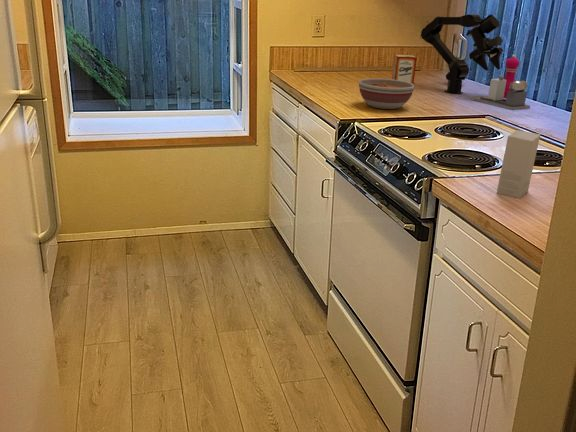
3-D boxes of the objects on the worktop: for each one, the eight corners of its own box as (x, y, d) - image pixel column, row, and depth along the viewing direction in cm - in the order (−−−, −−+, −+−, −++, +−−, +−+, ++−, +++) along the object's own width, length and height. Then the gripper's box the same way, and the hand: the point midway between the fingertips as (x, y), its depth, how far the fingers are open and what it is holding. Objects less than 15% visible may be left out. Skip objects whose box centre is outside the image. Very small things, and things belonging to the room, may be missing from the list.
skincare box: (505, 185, 167) (515, 129, 162) (530, 191, 164) (542, 133, 158) (495, 193, 161) (506, 134, 155) (521, 199, 157) (533, 139, 152)
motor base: (473, 100, 285) (477, 74, 281) (490, 98, 291) (495, 73, 287) (511, 110, 268) (516, 83, 264) (529, 108, 274) (534, 81, 270)
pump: (487, 98, 282) (491, 74, 278) (495, 98, 285) (500, 74, 281) (494, 100, 279) (499, 76, 275) (503, 99, 282) (507, 75, 278)
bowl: (377, 114, 246) (380, 88, 242) (346, 102, 264) (348, 79, 261) (422, 111, 256) (426, 86, 252) (389, 100, 275) (392, 77, 271)
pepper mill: (515, 99, 295) (523, 56, 287) (499, 97, 296) (507, 54, 288) (513, 96, 301) (521, 54, 294) (497, 95, 302) (505, 53, 295)
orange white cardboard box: (393, 89, 303) (397, 55, 297) (391, 86, 309) (394, 53, 303) (412, 90, 303) (416, 56, 298) (409, 87, 310) (413, 54, 304)
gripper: (481, 30, 273) (495, 61, 271) (505, 29, 285) (519, 59, 282) (462, 43, 282) (475, 74, 280) (486, 42, 293) (499, 72, 291)
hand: (493, 69), depth 283 cm, fingers open, 9 cm apart
